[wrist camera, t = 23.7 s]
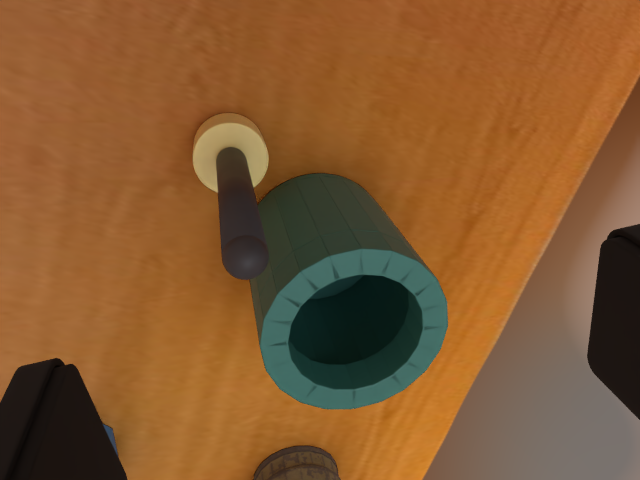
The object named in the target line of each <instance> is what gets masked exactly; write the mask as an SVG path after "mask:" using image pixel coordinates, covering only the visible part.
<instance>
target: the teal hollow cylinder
mask: <svg viewBox="0 0 640 480" xmlns="http://www.w3.org/2000/svg"><path fill="white" fill-rule="evenodd" d="M258 209H259V214H260V218H261V222H262V226H263V230H264V235H265V239H266V243H267V247H268V252H269V261H268V264H267V267H266V268H265V270H264V271H263V272H262V273H261V274H260V275H259V276H257V277H255V278H253V279H250V285H251V292H252V298H253V305H254V311H255V318H256V324H257V331H258V338H259V344H260V349H261V353H262V357H263V361H264V365H265V368H266V371H267V372H268V374H269V375H270V376H271V378H272V379H273V381H274V382H275V383H276V385H277V386H278V387H279V389H281V390H282V391H284V392H285V393H287V394H288V395H290V396H291V397H293V398H294V399H296V400H298V401H299V402H302V403H304V404H308V405H312V406H316V407H319V408H323V409H353V408H354V409H355V408H359V407H363V406H367V405H371V404H375V403H379V402H382V401H384V400H385V399H387V398H389V397H391V396H393V395H395V394H397V393H399V392H401V391H403V390H404V389H405V388H407V387H408V386H409V385H410V384H411V383H412V382H414V381H415V380H416V379H417V378H418V377H419V376H420V375H422V374H423V373H424V372H425V371H426V370H427V368H428V367H429V366H430V364H431V363H432V361H433V360H434V358H435V357H436V355H437V354H438V352H439V351H440V349H441V346H442V343H443V340H444V337H445V334H446V331H447V327H448V316H447V301H446V298H445V295H444V293H443V291H442V289H441V286H440V284H439V282H438V280H437V278H436V277H435V276H434V274H433V273H432V272H431V270H430V269H429V268H428V267H427V265H426V264H425V263H424V262H423V260H422V259H421V258H420V257H419V255H418V254H417V253H416V251H415V250H414V249H413V248H412V246H411V245H410V244H409V243H408V241H407V240H406V239H405V237H404V236H403V235H402V234H401V232H400V231H399V230H398V229H397V227H396V226H395V225H394V224H393V222H392V221H391V220H390V218H389V217H388V216H387V215H386V213H385V212H384V211H383V210H382V208H381V207H380V206H379V204H378V203H377V202H376V201H375V200H374V199H373V198H372V197H371V196H370V195H369V193H368V192H367V191H366V190H365V189H363V188H362V187H361V186H360V185H358V184H357V183H355V182H353V181H351V180H349V179H347V178H344V177H341V176H337V175H333V174H325V173H318V174H308V175H303V176H299V177H296V178H293V179H291V180H288V181H286V182H284V183H282V184H281V185H279V186H277V187H276V188H275V189H273V190H272V191H271V192H269V193H268V194H267V195H266V196H265V197H264V198H263V199H262V201H261V202H260V203H259V204H258Z"/></svg>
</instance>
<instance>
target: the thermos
mask: <svg viewBox="0 0 640 480" xmlns="http://www.w3.org/2000/svg"><path fill="white" fill-rule="evenodd" d="M254 480H341V479H340V478H339V475H338V470H337V465H336V462H335V460H334V459H333V458H332V456H331V455H330V454H329V453H327V452H326V451H324V450H322V449H320V448H316V447H312V446H294V447H290V448H286V449H283V450H280V451H278V452H276V453H275V454H273V455H271V456H269V457H268V458H267V459H266V460H265V461H264V462H262V463H261V464H260V466H259V467H258V469H257V471H256V472H255V474H254Z"/></svg>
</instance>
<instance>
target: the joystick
mask: <svg viewBox="0 0 640 480" xmlns="http://www.w3.org/2000/svg"><path fill="white" fill-rule="evenodd" d="M268 162H269V156H268V151H267V147H266V144H265V142H264V139H263V137H262V134H261V132H260V130H259V129H258V127H257V126H256V125H255V124H254V123H253V122H252V121H251V120H249V119H248V118H246V117H244V116H242V115H239V114H234V113H222V114H218V115H215V116H213V117H211V118H209V119H208V120H206V121H205V122H204V123H203V124H202V125H201V126H200V128H199V129H198V131H197V133H196V135H195V138H194V144H193V166H194V170H195V172H196V174H197V176H198V178H199V179H200V181H201V182H202V183H203V184H204V185H205V186H207V187H208V188H209V189H211V190H213V191H215V192H217V193H218V202H219V218H220V234H221V250H222V261H223V265H224V267H225V269H226V270H227V271H228V272H229V273H230V274H231V275H232V276H233V277H235V278H238V279H243V280H248V279H253V278H255V277H257V276H259V275H260V274H261V273H262V272H263V271H264V270H265V268H266V267H267V264H268V261H269V252H268V247H267V243H266V239H265V235H264V230H263V226H262V222H261V218H260V214H259V209H258V205H257V201H256V197H255V193H254V187H255V186H257V185H258V184H259V183H260V181H261V180H262V179H263V177H264V176H265V173H266V171H267V168H268Z"/></svg>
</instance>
